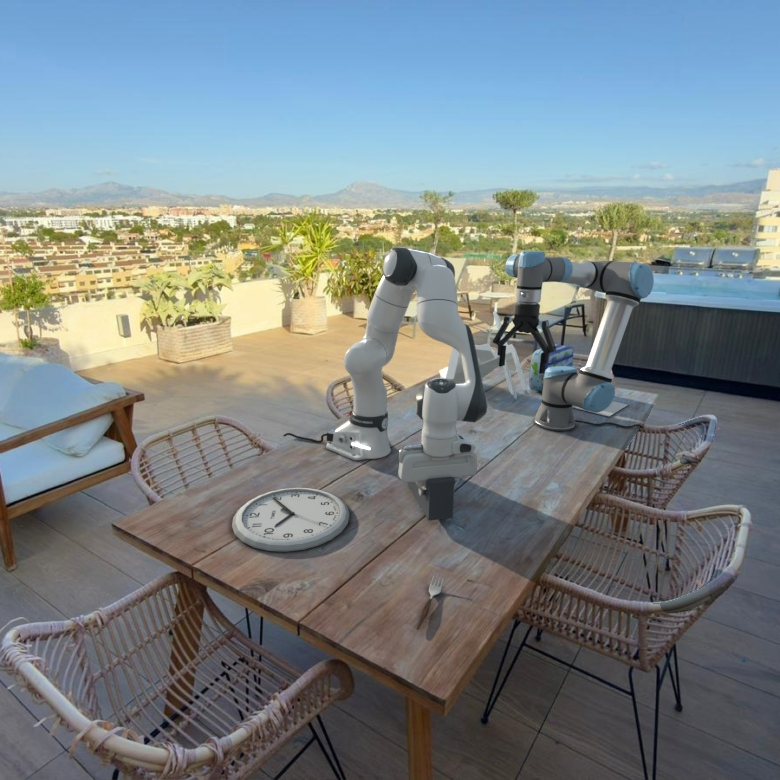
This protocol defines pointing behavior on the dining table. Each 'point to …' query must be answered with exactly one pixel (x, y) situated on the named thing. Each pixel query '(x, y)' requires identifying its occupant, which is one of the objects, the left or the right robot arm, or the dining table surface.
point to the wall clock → (290, 519)
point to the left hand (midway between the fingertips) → (436, 492)
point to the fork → (433, 591)
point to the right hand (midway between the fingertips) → (521, 369)
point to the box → (435, 496)
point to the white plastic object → (486, 363)
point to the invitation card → (609, 409)
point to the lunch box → (548, 364)
